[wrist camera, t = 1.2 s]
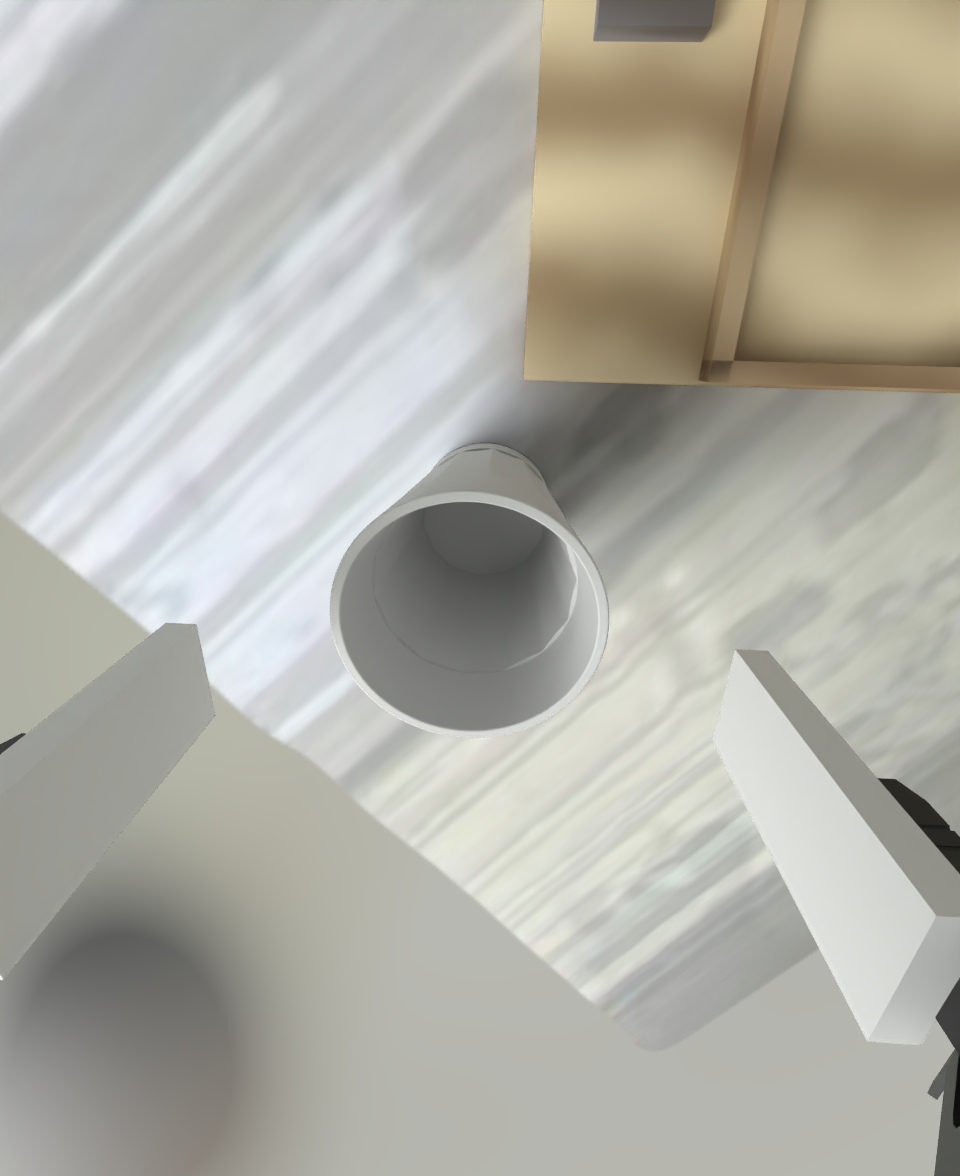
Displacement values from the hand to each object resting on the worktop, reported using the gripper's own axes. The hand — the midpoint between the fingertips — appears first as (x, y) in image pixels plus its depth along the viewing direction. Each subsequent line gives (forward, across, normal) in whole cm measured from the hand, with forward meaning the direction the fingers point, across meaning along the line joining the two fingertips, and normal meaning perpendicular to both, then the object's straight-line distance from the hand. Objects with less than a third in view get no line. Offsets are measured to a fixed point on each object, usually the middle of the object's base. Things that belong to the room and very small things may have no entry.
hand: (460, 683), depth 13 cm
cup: (+14, 0, 0) cm, 15 cm away
